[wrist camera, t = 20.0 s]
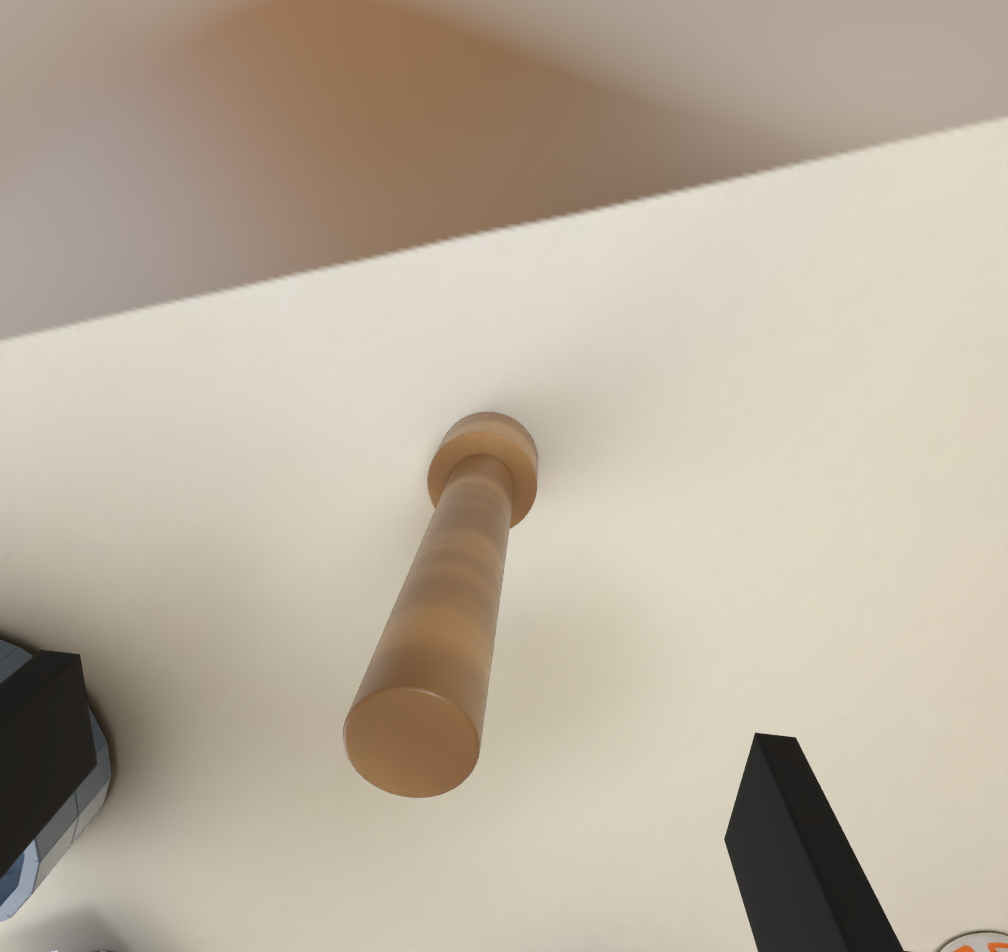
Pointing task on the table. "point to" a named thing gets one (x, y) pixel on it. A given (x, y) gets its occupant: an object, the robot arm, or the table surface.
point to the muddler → (445, 617)
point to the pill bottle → (978, 943)
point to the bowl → (66, 824)
